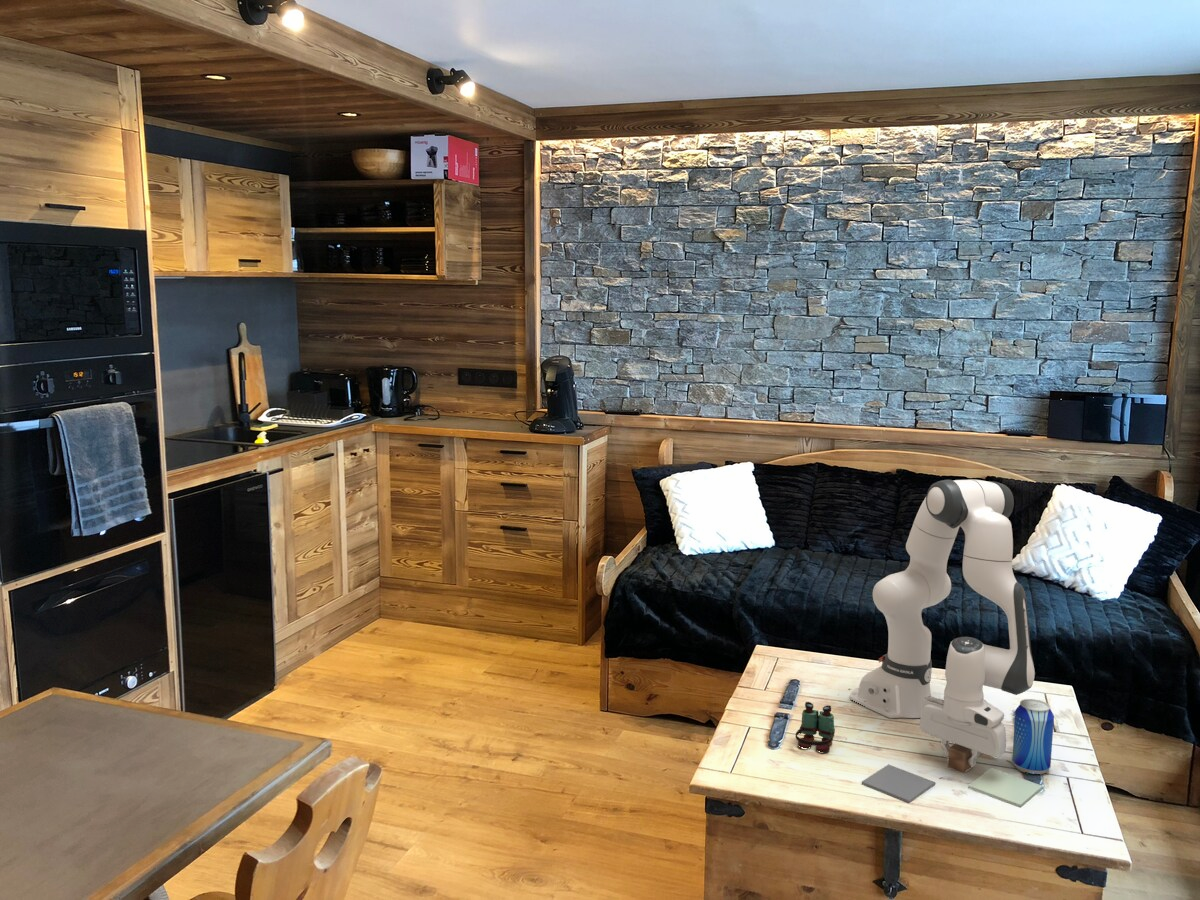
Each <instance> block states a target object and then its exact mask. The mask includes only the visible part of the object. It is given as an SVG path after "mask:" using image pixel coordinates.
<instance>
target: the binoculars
mask: <svg viewBox="0 0 1200 900" xmlns="http://www.w3.org/2000/svg"><path fill="white" fill-rule="evenodd" d="M804 708H805V709H803V710H802V713H801V725H800V726H799V729H798V730H797V731H796V733H795V739H796V741H798V743H797V746H798V745H799V746H800V747H803V748H809V747H811V748H812V746H815V748H816V751H817V750H818V751H820V752H826V753H828V752H829V751H830V749H831V748H830V745H833V740H834V738H835V733H836V728H835V720H834V719H835V718H834V714H833V713H831V711H832V706H831V705H828V704H827V705H823V707H822V710H820V711H819V710H817V709H814V704H813V703H812V702H810V701H805V703H804ZM817 733H818V736H819V737H821V739H820V740H821V741H815V735H817ZM802 734H803V737H799V736H798V735H802ZM813 740H814V741H813Z"/></svg>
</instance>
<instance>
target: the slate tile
mask: <svg viewBox="0 0 1200 900" xmlns="http://www.w3.org/2000/svg"><path fill="white" fill-rule="evenodd" d="M863 784H864V786H865V785H866V787H868V788H871V789H873V790H876V791H878V792H881V793H883V794H886V795H888V796H891V797H892V798H896V799H898V800H900V801H903V802H905V803H908V804H910V803H912V802H913V801H915V800H916V799H917V798H919V797H920V796H921V795H922V794H924V793H926V792H927V791H928V790H929V789H931V788H932V787H934V786H935V785H936V781H934V780H930V779H928V778H925V777H923V776H920V775H917V774H915V773H913V772H909V771H907V770H904V769H902V768H899V767H896V766H894V765H891V764H887V765H885V766H884V767H882V768H880V769H879V770H877V771H876V772H875V773H873V774H871V775H869V776H868V777H867V778H864V779H863V780H862V781H861V785H863Z"/></svg>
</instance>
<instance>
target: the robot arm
mask: <svg viewBox="0 0 1200 900" xmlns="http://www.w3.org/2000/svg"><path fill="white" fill-rule="evenodd" d="M1014 499H1015V498H1014V495H1013V492H1012V491H1011V489H1010V488H1009V487H1008V486H1007V485H1005V484H1003V483H1000V482H998V481H994V480H992V481H991V480H989V481H986V480H981V479H972V478H970V479H955V480H952V479H944V480H943V479H942V480H939V481H935V482H934V483H932V484H931V485H930V487H929V488H928V490H927V493H926V496H925V498H924V500H923V501H922V503H921V505H920V507H919V509H918V511H917V513H916V516H915V518H914V520H913V523H912V527H911V529H910V531H909V535H908V538H907V541H906V543H905V550H906V552H907V554H908V555H909V556H910V557H909V558H910V560H909V565H908V566H907V568H906V569H905V570H902V571H899V572H895V573H892V574H888V575H886V576H885V577H883V578H882V579H880V580H879V581H878V582H876V584H875V585H874V586H873V589H872V599H873V602H874V605H875V606H876V608H877V610H878V611H880V613H882V614H883V616H884V617H885V620H886V624H887V631H888V642H887V643H888V645H887V646H888V647H887V653H886V654H883V655H882V656H881V657H880V658H879V657H878V660H879V661H878V663H881V662H882V663H881V666H879V667H876V668H875V669H873V670H872V671H870V672H867V673H866V674H865V675H863V677H862V678H861V680H860V682H859V685H858V687H857V688H855V689H853V691H851V693H850V695H849V700H850V699H851V700H853V701H852V702H854V701H855V702H854V703H856V702H857V703H856V704H858V703H859V704H858V705H860V704H861V705H860V706H862V705H863V707H864V706H865V707H864V708H866V709H869V710H872V711H873V712H876V713H878V714H880V715H882V716H884V717H886V718H888V719H889V718H890V719H898V718H906V719H919V729H920V731H921V732H922V733H924V734H927V735H929V736H932V737H935V738H938V739H940V744H941V745H942V748H943V750H944V757H945V758H947V759H948V753H949V747H951V745H950V743H953V744H958V745H961V746H964V747H967V748H970V749H972V756H969V757H967V762H966V764H967V765H970V766H971V767H975V766H976V763H977V762H976V761H977V760H976V759H977V758H978V756H979V755H980V754H985V755H988V756H990V757H993V758H999V757H1001V756H1002V755H1003V754H1004V753H1005V752H1006V750H1007V732H1006V727H1005V725H1004V724H1003V720H1004V719H1005V714H1004V712H1003V711H1002V710H1000V709H999V708H997V707H995V706H994V705H992V704H991V703H989V702H988V701H987V700H986V699H985V695H984V690H983V689H984V688H983V686H985V687H990V688H993V689H997V690H1001V691H1002V692H1006V693H1008V694H1012V695H1014V696H1017V695H1020V694H1023V693H1025V692H1027V691H1028V690H1030V689H1031V688H1032V687H1033V683H1034V680H1035V675H1036V672H1035V667H1034V666H1035V664H1034V659H1033V658H1034V657H1033V654H1032V646H1031V634H1030V624H1029V623H1030V622H1029V612H1028V603H1027V602H1028V601H1027V597H1026V596H1027V595H1026V591H1025V588H1024V587H1023V585H1022V584H1020V582H1018V581H1017V579H1016V577H1015V575H1014V572H1013V571H1014V570H1013V555H1014V554H1013V553H1014V538H1013V528H1012V522H1011V520H1009V517H1010V516H1011V514H1012V513H1013V509H1014V506H1015V502H1014V501H1015V500H1014ZM960 528H961V529H962V530H963V533H964V548H963V557H962V576H963V579H964V581H966V583H967V585H968V586H969V587H970V588H971V589H972V590H973V591H975V592H976V593H977V594H979V595H980V596H983V597H984V598H986V599H987V600H990V601H991V602H993V604H994V603H995V604H996V605H997V606H998V607H1000V609H1002V610H1003V611H1004V613H1005V615H1006V618H1007V623H1008V624H1007V625H1008V636H1009V637H1008V638H1009V649H1005V648H1002V647H997V646H992V645H987V644H984V643H983V642H982V641H981V640H979V639H978V638H975V637H970V636H959V637H956V638H953V640H952V641H950V644H949V647H948V651H947V656H946V662H945V663H946V664H945V670H944V671H945V674H944V675H945V680H946V681H945V682H946V684H945V687H944V690H943V691H944V693H943V699H941V698H937V697H934V696H932V693H931V691H932V690H931V679H932V667H933V666H932V664H933V662H932V658H931V651H932V632H931V631H930V629H929V628H928V627H927V626H926V625H924V622H923V618H922V613H923V610H924V609H926V608H931V607H932V606H936V605H938V604H939V603H941V602H943V601H944V600H945V599H946V598H947V597H949V595H950V593H951V590H952V580H951V578H950V576H949V575H948V573H947V567H948V560H949V556H950V555H951V551H952V549H953V546H954V543H955V540H956V539H957V535H958V532H959V529H960ZM851 700H850V701H851Z"/></svg>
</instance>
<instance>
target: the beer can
mask: <svg viewBox="0 0 1200 900" xmlns="http://www.w3.org/2000/svg"><path fill="white" fill-rule="evenodd" d="M1054 719H1055V715H1054V713H1053V712H1052V710H1051V705H1050V704H1049V703H1047V702H1046V701H1043V700H1040V699H1034V698H1033V699H1032V698H1027V699H1026V698H1024V699H1022V700H1021V701H1019V705H1018V706H1017V707H1016V709H1015V711H1014V725H1013V726H1014V727H1013V728H1014V729H1013V742H1012V743H1013V744H1012V755H1011V757H1012V758H1011V760H1012V763H1013V764H1014V766H1015V768H1016V769H1017V770H1018V771H1020V772H1022V773H1025V772H1036V773H1040V775H1043V774H1046V773H1047V772H1048V770H1049V769H1050V768H1051V765H1052V751H1053V735H1054V722H1055V720H1054Z"/></svg>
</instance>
